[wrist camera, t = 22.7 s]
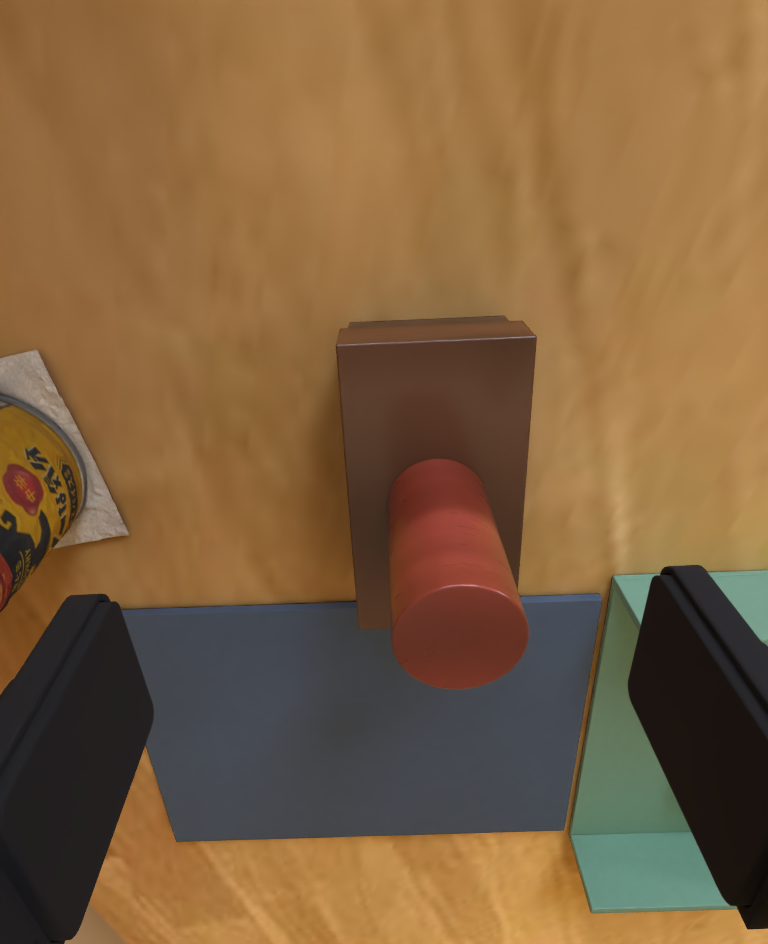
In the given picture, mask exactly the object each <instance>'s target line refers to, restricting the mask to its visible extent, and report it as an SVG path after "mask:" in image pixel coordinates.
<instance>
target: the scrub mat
mask: <svg viewBox="0 0 768 944" xmlns="http://www.w3.org/2000/svg"><path fill="white" fill-rule="evenodd" d="M520 599H521V602H522V606H523V609H524V612H525V615H526V618H527V621H528V626H529V639H528V644H527V647H526V650H525V652H524V654H523V656H522V658H521V659H520V661H519V662H518V663H517V664H516V665H515V666H514V667H513V669H511V670H510V671H509V672H508V673H507V674H505V675H504V676H502V677H500V678H499V679H497V680H495V681H493V682H491V683H488V684H485V685H482V686H479V687H475V688H469V689H443V688H438V687H434V686H431V685H427V684H425V683H423V682H421V681H419V680H417V679H415V678H414V677H412V676H411V675H410V674H408V673H407V672H406V671H405V670H404V669H403V668H402V666H401V665H400V664H399V662H398V661H397V659H396V657H395V655H394V652H393V649H392V643H391V629H372V630H359V628H358V616H357V603H356V602H337V603H307V604H276V605H246V606H216V607H185V608H155V609H125V610H121V611H122V614H123V617H124V620H125V622H126V625H127V628H128V631H129V634H130V637H131V640H132V643H133V646H134V649H135V652H136V655H137V658H138V661H139V664H140V667H141V670H142V673H143V676H144V679H145V682H146V685H147V688H148V691H149V694H150V697H151V699H152V702H153V707H154V718H153V724H152V727H151V730H150V733H149V736H148V739H147V741H146V744H145V745H146V748H147V751H148V754H149V757H150V760H151V764H152V767H153V770H154V773H155V776H156V779H157V782H158V785H159V789H160V792H161V795H162V798H163V801H164V804H165V807H166V811H167V814H168V817H169V820H170V823H171V826H172V829H173V832H174V836H175V839H176V842H187V841H221V840H255V839H289V838H323V837H357V836H391V835H425V834H459V833H493V832H527V831H561V830H564V828H565V822H566V815H567V809H568V803H569V797H570V791H571V785H572V779H573V773H574V767H575V761H576V755H577V749H578V743H579V737H580V731H581V725H582V719H583V713H584V707H585V701H586V695H587V689H588V683H589V677H590V671H591V665H592V659H593V653H594V647H595V641H596V635H597V629H598V623H599V617H600V611H601V605H602V598H601V596H600V594H580V595H549V596H520Z"/></svg>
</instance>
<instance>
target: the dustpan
mask: <svg viewBox="0 0 768 944" xmlns="http://www.w3.org/2000/svg"><path fill="white" fill-rule="evenodd" d="M708 573H709V575H710V576H711V577H712V579H713V580H714V581H715V582H716V584H717V585H718V586H719V588H720V589H721V590H722V591H723V593H724V594H725V595H726V597H727V598H728V599H729V600H730V602H731V603H732V604H733V606H734V607H735V608H736V609H737V611H738V612H739V613H740V615H741V616H742V617H743V618H744V620H745V621H746V622H747V624H748V625H749V626H750V627H751V629H752V630H753V631H754V633H755V634H756V635H757V636H758V638H759V639H760V640H761V642H763V643H765V644H766V645H767V646H768V570H759V571H729V572H708ZM656 575H660V574H639V575H613V578H612V583H611V589H610V595H609V601H608V607H607V613H606V618H605V624H604V630H603V636H602V642H601V647H600V653H599V659H598V665H597V671H596V676H595V682H594V688H593V694H592V700H591V705H590V711H589V717H588V723H587V729H586V735H585V740H584V746H583V752H582V758H581V764H580V769H579V775H578V781H577V787H576V793H575V798H574V804H573V810H572V816H571V822H570V827H569V833H568V834H569V838H570V841H571V845H572V848H573V852H574V855H575V859H576V862H577V866H578V869H579V873H580V876H581V880H582V883H583V887H584V891H585V894H586V898H587V901H588V905H589V908H590V912H591V913H625V912H661V911H697V910H732V909H738V908H737V906H730V905H729V904H728V903H726V901H725V900H724V899H723V897H722V896H721V894H720V892H719V890H718V888H717V886H716V884H715V881H714V879H713V877H712V875H711V873H710V871H709V869H708V866H707V864H706V862H705V860H704V858H703V856H702V854H701V851H700V849H699V847H698V845H697V843H696V841H695V838H694V836H693V834H692V832H691V830H690V828H689V826H688V823H687V821H686V819H685V817H684V815H683V813H682V811H681V808H680V806H679V804H678V802H677V800H676V798H675V796H674V793H673V791H672V789H671V787H670V785H669V783H668V781H667V778H666V776H665V774H664V772H663V770H662V768H661V766H660V763H659V761H658V759H657V757H656V755H655V753H654V751H653V748H652V746H651V744H650V742H649V740H648V738H647V736H646V733H645V731H644V729H643V727H642V725H641V723H640V721H639V718H638V716H637V714H636V712H635V710H634V708H633V706H632V703H631V701H630V698H629V694H628V678H629V674H630V669H631V665H632V661H633V657H634V652H635V648H636V644H637V639H638V635H639V631H640V626H641V622H642V618H643V613H644V609H645V605H646V601H647V596H648V592H649V588H650V583H651V580H652V578H653V577H654V576H656Z"/></svg>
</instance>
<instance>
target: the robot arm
mask: <svg viewBox="0 0 768 944" xmlns="http://www.w3.org/2000/svg"><path fill="white" fill-rule="evenodd" d="M628 694H629V698H630V701H631V703H632V706H633V708H634V710H635V712H636V714H637V716H638V718H639V721H640V723H641V725H642V727H643V729H644V731H645V733H646V736H647V738H648V740H649V742H650V744H651V746H652V748H653V751H654V753H655V755H656V757H657V759H658V761H659V763H660V766H661V768H662V770H663V772H664V774H665V776H666V778H667V781H668V783H669V785H670V787H671V789H672V791H673V793H674V796H675V798H676V800H677V802H678V804H679V806H680V808H681V811H682V813H683V815H684V817H685V819H686V821H687V823H688V826H689V828H690V830H691V832H692V834H693V836H694V838H695V841H696V843H697V845H698V847H699V849H700V851H701V854H702V856H703V858H704V860H705V862H706V864H707V866H708V869H709V871H710V873H711V875H712V877H713V879H714V881H715V884H716V886H717V888H718V890H719V892H720V894H721V896H722V897H723V899H724V900H725V901H726V903H728V904H729V905H730V906H737V908H738V910H739V913H740V915H741V917H742V919H743V921H744V923H745V925H746V927H747V929H767V928H768V646H767V645H766V644H765V643H763V642H761V640H760V639H759V638H758V636H757V635H756V634H755V633H754V631H753V630H752V629H751V627H750V626H749V625H748V624H747V622H746V621H745V620H744V618H743V617H742V616H741V615H740V613H739V612H738V611H737V609H736V608H735V607H734V606H733V604H732V603H731V602H730V600H729V599H728V598H727V597H726V595H725V594H724V593H723V591H722V590H721V589H720V588H719V586H718V585H717V584H716V582H715V581H714V580H713V579H712V577H711V576H710V575H709V573H708V572H707V571H706V570H705V569H704V568H703V567H702V566H699V565H687V566H667V567H664V568H663V569H662V571H661V573H660V575H656V576H654V577H653V578H652V580H651V583H650V588H649V592H648V596H647V601H646V605H645V609H644V613H643V618H642V622H641V626H640V631H639V635H638V639H637V644H636V648H635V652H634V657H633V661H632V665H631V669H630V674H629V678H628ZM153 718H154V707H153V702H152V699H151V697H150V694H149V691H148V688H147V685H146V682H145V679H144V676H143V673H142V670H141V667H140V664H139V661H138V658H137V655H136V652H135V649H134V646H133V643H132V640H131V637H130V634H129V631H128V628H127V625H126V622H125V620H124V617H123V614H122V611H121V608H120V606H119V604H118V603H117V602H111V601H110V599H109V597H108V596H107V595H106V594H88V595H71V596H69V597H67V598H66V599H65V601H64V602H63V603H62V605H61V607H60V608H59V610H58V611H57V613H56V614H55V616H54V617H53V619H52V621H51V622H50V624H49V625H48V627H47V628H46V630H45V632H44V633H43V635H42V636H41V638H40V639H39V641H38V642H37V644H36V646H35V647H34V649H33V650H32V652H31V653H30V655H29V656H28V658H27V660H26V661H25V663H24V664H23V666H22V667H21V669H20V671H19V672H18V674H17V675H16V677H15V678H14V679H13V680H12V681H11V682H10V683H9V684H8V685H7V687H6V688H5V689H4V691H3V692H2V694H1V695H0V944H64V942H65V940H70V939H72V938H73V937H74V936H75V935H76V933H77V932H78V930H79V928H80V925H81V923H82V920H83V917H84V914H85V912H86V909H87V906H88V903H89V901H90V898H91V895H92V892H93V890H94V887H95V884H96V881H97V878H98V876H99V873H100V870H101V867H102V864H103V862H104V859H105V856H106V853H107V850H108V848H109V845H110V842H111V839H112V836H113V834H114V831H115V828H116V825H117V822H118V820H119V817H120V814H121V811H122V808H123V806H124V803H125V800H126V797H127V795H128V792H129V789H130V786H131V783H132V781H133V778H134V775H135V772H136V769H137V767H138V764H139V761H140V758H141V755H142V753H143V750H144V747H145V744H146V741H147V739H148V736H149V733H150V730H151V727H152V724H153Z"/></svg>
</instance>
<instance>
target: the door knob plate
mask: <svg viewBox="0 0 768 944" xmlns="http://www.w3.org/2000/svg"><path fill="white" fill-rule="evenodd" d="M536 340H537V337H536V335H535V334H534V333H533V332H532V331H531V330H530V329H529V328H528V327H527V325H526V324H525V323H524V322H523V321H509V320H508V319H507V318H506V317H505V316H486V317H463V318H441V319H418V320H396V321H373V322H351V323H350V324H349V328H346V329H340V331H339V335H338V340H337V344H336V354H337V366H338V379H339V391H340V404H341V416H342V429H343V441H344V454H345V466H346V478H347V491H348V503H349V516H350V528H351V541H352V553H353V566H354V578H355V591H356V603H357V616H358V628H359V630H372V629H391V643H392V649H393V652H394V655H395V657H396V659H397V661H398V662H399V664H400V665H401V666H402V668H403V669H404V670H405V671H406V672H407V673H408V674H410V675H411V676H412V677H414V678H415V679H417V680H419V681H421V682H423V683H425V684H427V685H431V686H434V687H438V688H443V689H469V688H475V687H479V686H482V685H485V684H488V683H491V682H493V681H495V680H497V679H499V678H500V677H502V676H504V675H505V674H507V673H508V672H509V671H510V670H511V669H513V667H514V666H515V665H516V664H517V663H518V662H519V661H520V659H521V658H522V656H523V654H524V652H525V650H526V647H527V644H528V639H529V626H528V621H527V618H526V615H525V612H524V609H523V606H522V602H521V599H520V596H519V593H518V580H519V567H520V553H521V540H522V527H523V513H524V500H525V487H526V473H527V460H528V447H529V433H530V420H531V407H532V393H533V380H534V366H535V353H536Z"/></svg>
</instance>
